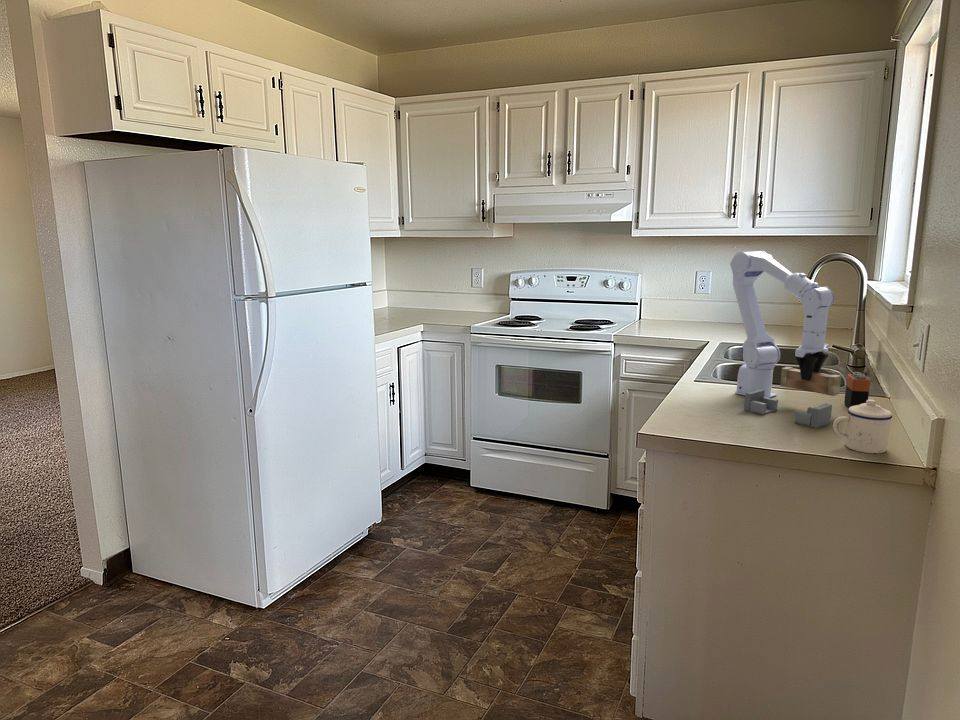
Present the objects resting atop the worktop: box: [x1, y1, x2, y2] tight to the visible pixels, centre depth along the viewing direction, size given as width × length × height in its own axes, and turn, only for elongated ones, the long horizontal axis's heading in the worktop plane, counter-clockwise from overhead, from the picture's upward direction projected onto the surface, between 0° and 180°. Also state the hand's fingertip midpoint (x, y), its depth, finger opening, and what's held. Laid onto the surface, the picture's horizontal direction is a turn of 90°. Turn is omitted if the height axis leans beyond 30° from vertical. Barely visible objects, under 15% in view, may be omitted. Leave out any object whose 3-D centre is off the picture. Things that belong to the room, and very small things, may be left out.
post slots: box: [743, 389, 833, 429], centre depth 180 cm, size 21×7×5 cm, turn 37°
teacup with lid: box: [832, 398, 893, 454], centre depth 155 cm, size 12×9×12 cm
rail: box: [780, 366, 842, 397], centre depth 185 cm, size 15×3×5 cm, turn 37°
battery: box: [843, 371, 871, 409], centre depth 188 cm, size 4×7×10 cm, turn 165°
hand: (809, 378), depth 185 cm, fingers closed on rail, 3 cm apart
